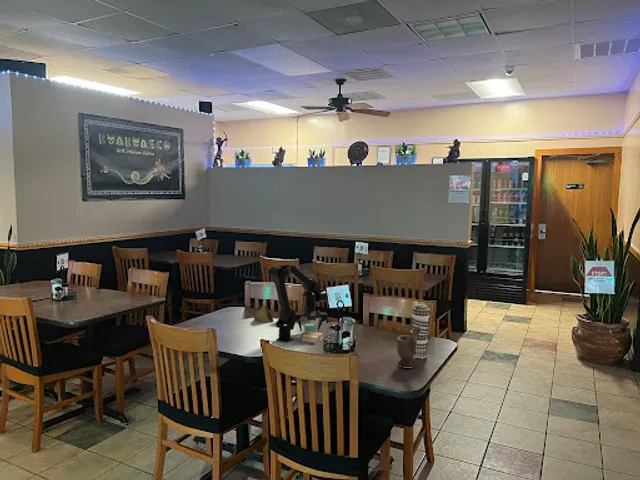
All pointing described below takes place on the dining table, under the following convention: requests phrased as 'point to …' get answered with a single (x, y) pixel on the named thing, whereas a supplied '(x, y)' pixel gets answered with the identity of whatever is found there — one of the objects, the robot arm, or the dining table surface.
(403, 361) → the mortar and pestle
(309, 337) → the beech block
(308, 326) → the teal cube
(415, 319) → the decorative candle
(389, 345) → the dining table surface
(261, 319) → the rock
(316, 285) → the robot arm
